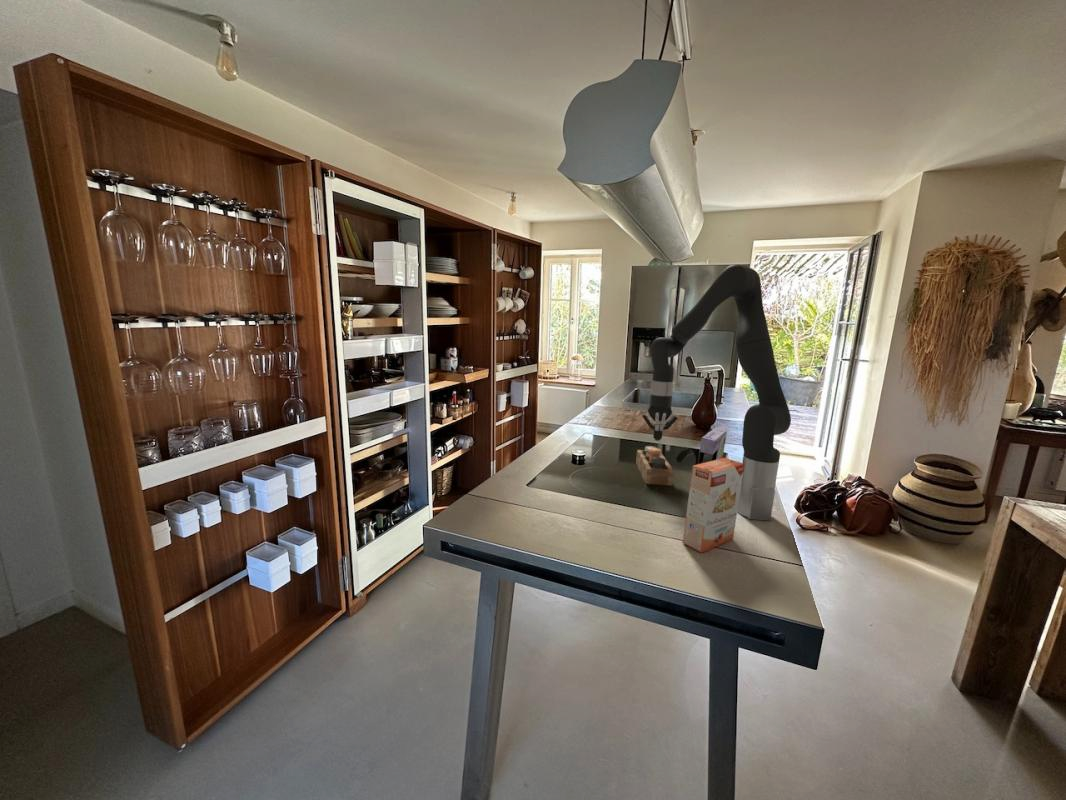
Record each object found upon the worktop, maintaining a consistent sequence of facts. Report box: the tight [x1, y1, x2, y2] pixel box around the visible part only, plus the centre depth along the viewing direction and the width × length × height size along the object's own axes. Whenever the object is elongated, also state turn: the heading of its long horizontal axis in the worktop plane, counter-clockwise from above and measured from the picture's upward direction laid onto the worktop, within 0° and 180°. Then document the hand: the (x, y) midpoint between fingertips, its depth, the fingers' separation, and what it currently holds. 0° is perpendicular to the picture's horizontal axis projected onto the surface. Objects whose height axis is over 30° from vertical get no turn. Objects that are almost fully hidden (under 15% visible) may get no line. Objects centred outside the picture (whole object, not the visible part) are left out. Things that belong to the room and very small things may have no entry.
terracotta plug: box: [648, 447, 663, 462], centre depth 154 cm, size 5×5×7 cm
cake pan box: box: [697, 427, 728, 464], centre depth 149 cm, size 19×5×18 cm, turn 143°
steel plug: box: [644, 445, 657, 456], centre depth 161 cm, size 5×5×7 cm
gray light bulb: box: [652, 457, 666, 469], centre depth 148 cm, size 5×5×7 cm
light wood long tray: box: [635, 449, 675, 487], centre depth 155 cm, size 22×9×6 cm, turn 175°
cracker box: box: [682, 457, 745, 554], centre depth 105 cm, size 14×6×21 cm, turn 124°
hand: (657, 440), depth 153 cm, fingers closed
